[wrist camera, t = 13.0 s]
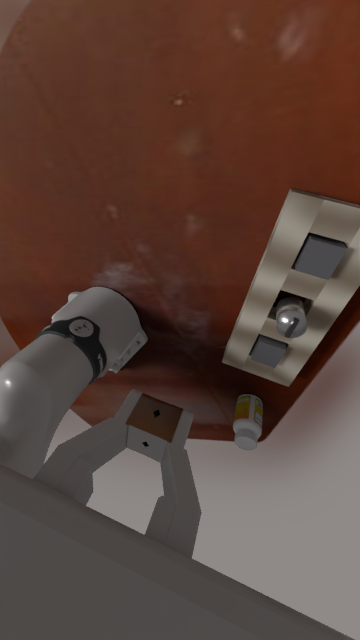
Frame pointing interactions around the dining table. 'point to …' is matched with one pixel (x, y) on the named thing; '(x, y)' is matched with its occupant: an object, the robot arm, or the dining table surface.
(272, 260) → the mount
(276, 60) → the dining table surface
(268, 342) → the inner button
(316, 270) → the outer button
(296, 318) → the steel dial
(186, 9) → the dining table surface
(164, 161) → the dining table surface
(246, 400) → the supplement bottle
